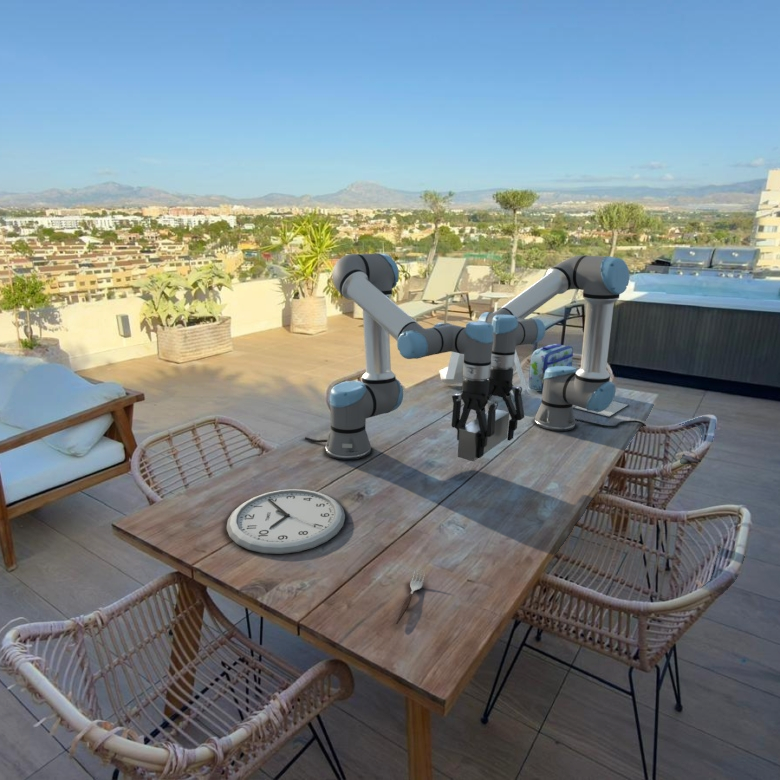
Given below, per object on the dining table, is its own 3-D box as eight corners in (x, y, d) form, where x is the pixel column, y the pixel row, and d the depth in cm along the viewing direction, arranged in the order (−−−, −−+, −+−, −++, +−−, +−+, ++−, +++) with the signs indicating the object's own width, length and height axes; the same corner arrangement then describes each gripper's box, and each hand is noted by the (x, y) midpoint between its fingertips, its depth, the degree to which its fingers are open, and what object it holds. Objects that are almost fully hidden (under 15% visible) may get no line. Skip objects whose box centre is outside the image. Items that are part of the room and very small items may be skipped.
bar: (492, 434, 170) (494, 408, 167) (507, 438, 167) (509, 412, 164) (457, 456, 152) (459, 428, 150) (473, 461, 149) (475, 433, 147)
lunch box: (545, 396, 239) (550, 351, 232) (524, 391, 246) (528, 347, 240) (572, 385, 256) (577, 343, 250) (552, 380, 263) (557, 339, 257)
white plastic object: (461, 429, 252) (437, 405, 227) (444, 352, 274) (420, 323, 250) (535, 404, 240) (518, 377, 215) (510, 326, 262) (492, 293, 237)
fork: (390, 624, 100) (390, 615, 100) (415, 574, 115) (415, 567, 114) (403, 627, 99) (403, 619, 99) (426, 577, 114) (426, 569, 113)
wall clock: (345, 545, 122) (213, 550, 119) (345, 551, 122) (214, 556, 120) (344, 484, 150) (238, 487, 148) (345, 490, 151) (239, 492, 148)
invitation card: (608, 416, 214) (573, 407, 224) (608, 416, 214) (573, 408, 224) (628, 404, 229) (594, 396, 238) (628, 405, 229) (594, 397, 238)
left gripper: (441, 374, 149) (437, 449, 156) (500, 387, 138) (493, 466, 145) (454, 369, 154) (450, 442, 161) (512, 380, 144) (505, 458, 151)
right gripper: (462, 363, 162) (458, 430, 168) (530, 375, 149) (523, 447, 156) (474, 358, 168) (469, 423, 174) (540, 370, 155) (533, 440, 162)
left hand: (470, 453), depth 153 cm, fingers closed on bar, 5 cm apart
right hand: (495, 435), depth 165 cm, fingers open, 9 cm apart
